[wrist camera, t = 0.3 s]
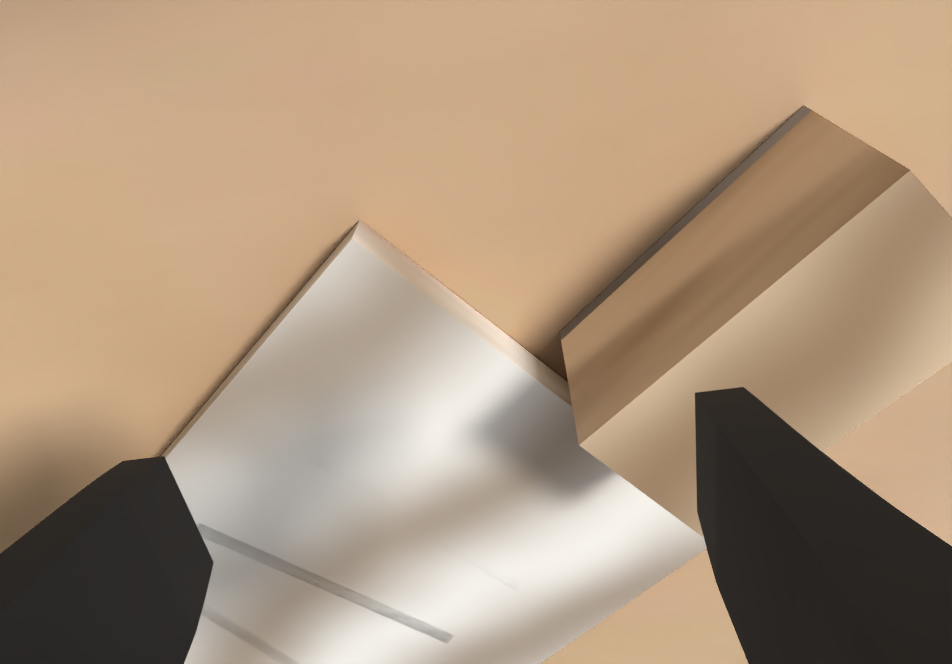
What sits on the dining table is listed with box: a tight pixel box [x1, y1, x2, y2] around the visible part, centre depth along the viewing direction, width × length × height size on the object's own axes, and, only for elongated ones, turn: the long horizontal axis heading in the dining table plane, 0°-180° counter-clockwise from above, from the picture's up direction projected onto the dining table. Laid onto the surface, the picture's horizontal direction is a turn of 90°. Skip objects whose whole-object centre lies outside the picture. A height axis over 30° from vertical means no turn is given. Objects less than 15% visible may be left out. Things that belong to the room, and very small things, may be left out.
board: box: [161, 220, 707, 664], centre depth 23 cm, size 14×18×1 cm
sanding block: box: [560, 105, 952, 536], centre depth 17 cm, size 4×8×5 cm, turn 139°
